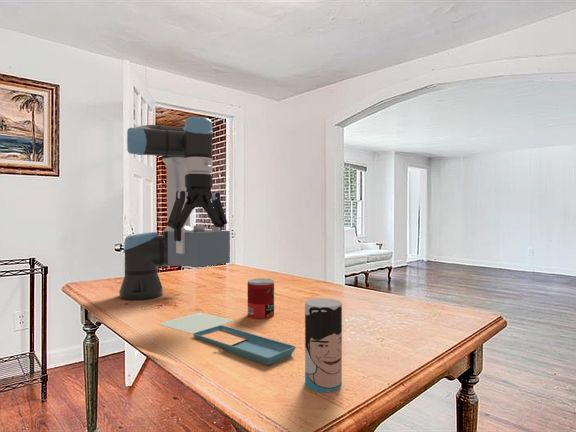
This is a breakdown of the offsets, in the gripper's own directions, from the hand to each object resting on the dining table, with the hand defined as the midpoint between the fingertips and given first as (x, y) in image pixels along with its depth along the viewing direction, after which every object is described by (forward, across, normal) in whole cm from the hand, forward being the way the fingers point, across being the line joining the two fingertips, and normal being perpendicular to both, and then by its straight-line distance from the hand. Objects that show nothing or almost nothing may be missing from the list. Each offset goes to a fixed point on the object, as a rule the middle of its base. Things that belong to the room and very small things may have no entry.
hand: (199, 251), depth 109 cm
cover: (+3, 0, 0) cm, 3 cm away
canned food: (+21, +15, -9) cm, 27 cm away
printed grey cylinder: (+21, -11, -48) cm, 53 cm away
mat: (+20, -1, 0) cm, 20 cm away
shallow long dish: (+21, -6, -22) cm, 31 cm away
